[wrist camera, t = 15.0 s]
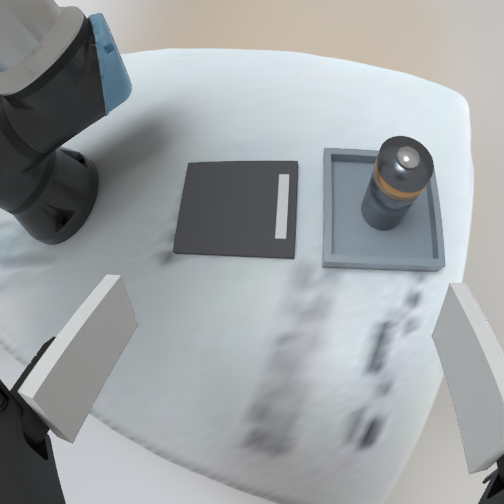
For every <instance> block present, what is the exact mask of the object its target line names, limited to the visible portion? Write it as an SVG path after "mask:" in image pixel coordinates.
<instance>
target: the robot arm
mask: <svg viewBox="0 0 504 504" xmlns="http://www.w3.org/2000/svg"><path fill="white" fill-rule="evenodd" d="M131 91H132V84H131V81H130V78H129V76H128V73H127V71H126V68H125V66H124V63H123V61H122V58H121V56H120V53H119V51H118V48H117V46H116V44H115V41H114V39H113V36H112V34H111V32H110V29H109V27H108V25H107V22H106V20H105V18H104V16H103V14H101V13H97V14H93V15H90V16H89V17H88V18H86V16H85V15H84V14H83V12H82V11H81V10H80V9H79V8H77V7H73V6H70V7H59V6H58V5H57V4H56V3H55V1H54V0H0V208H1V209H3V210H5V211H7V212H9V213H11V214H13V215H14V217H15V218H16V219H17V220H18V221H19V223H20V224H21V225H22V226H23V227H24V228H25V230H26V231H27V232H28V233H29V234H30V235H31V236H32V237H33V238H35V239H37V240H39V241H41V242H43V243H46V244H57V243H60V242H62V241H64V240H66V239H68V238H69V237H70V236H72V235H73V234H74V233H75V232H76V231H77V230H78V229H79V228H80V227H81V225H82V224H83V223H84V221H85V220H86V218H87V217H88V215H89V213H90V211H91V209H92V207H93V204H94V202H95V199H96V195H97V190H98V174H97V170H96V168H95V166H94V164H93V163H92V162H91V161H90V160H89V159H88V158H87V157H86V156H84V155H83V154H81V153H79V152H77V151H74V150H70V149H67V148H64V147H60V146H61V145H63V144H64V143H65V142H67V141H68V140H70V139H71V138H72V137H74V136H75V135H77V134H78V133H80V132H81V131H83V130H84V129H86V128H87V127H89V126H90V125H92V124H93V123H95V122H96V121H98V120H99V119H101V118H102V117H104V116H107V115H108V114H109V112H110V111H112V110H113V109H114V108H116V107H117V106H119V105H120V104H121V103H123V102H124V101H126V100H127V98H128V97H129V96H130V93H131ZM137 326H138V323H137V320H136V317H135V315H134V312H133V309H132V306H131V303H130V301H129V298H128V295H127V292H126V289H125V286H124V283H123V280H122V277H121V275H106V276H105V277H104V278H103V279H102V281H101V282H100V283H99V284H98V285H97V287H96V288H95V289H94V290H93V291H92V293H91V294H90V295H89V296H88V297H87V299H86V300H85V301H84V302H83V304H82V305H81V306H80V307H79V309H78V310H77V311H76V312H75V314H74V315H73V316H72V317H71V319H70V320H69V321H68V322H67V324H66V325H65V326H64V328H63V329H62V330H61V332H60V333H59V334H58V335H57V337H53V338H51V339H50V340H49V341H47V342H46V343H45V344H44V345H43V346H42V347H41V349H40V350H39V351H38V353H37V356H35V357H34V358H33V359H32V361H31V364H29V365H28V366H27V368H26V369H25V371H24V372H23V373H22V375H21V376H20V378H19V379H18V380H17V382H16V383H15V385H14V386H13V388H12V389H11V390H10V391H9V390H8V389H7V387H6V386H5V385H4V384H3V383H2V381H1V380H0V504H66V503H65V499H64V496H63V492H62V489H61V485H60V481H59V477H58V473H57V468H56V464H55V459H54V455H53V450H52V445H51V440H50V437H49V435H48V434H47V433H48V431H49V429H51V430H52V431H53V433H54V434H55V435H56V436H57V437H59V438H61V439H64V440H66V441H68V442H71V443H73V442H74V440H75V438H76V436H77V434H78V432H79V430H80V428H81V427H82V425H83V423H84V421H85V419H86V417H87V415H88V413H89V411H90V409H91V408H92V406H93V404H94V402H95V400H96V398H97V396H98V394H99V393H100V391H101V389H102V387H103V385H104V384H105V382H106V380H107V378H108V376H109V375H110V373H111V371H112V369H113V367H114V366H115V364H116V362H117V360H118V359H119V357H120V355H121V353H122V352H123V350H124V348H125V346H126V345H127V343H128V341H129V340H130V338H131V336H132V334H133V333H134V331H135V329H136V328H137ZM432 338H433V341H434V343H435V346H436V349H437V352H438V355H439V358H440V361H441V364H442V368H443V371H444V374H445V377H446V381H447V384H448V387H449V391H450V394H451V398H452V402H453V405H454V409H455V413H456V417H457V421H458V425H459V429H460V433H461V438H462V442H463V447H464V451H465V457H466V462H467V468H468V473H469V474H472V473H476V472H480V471H483V470H487V469H488V468H489V467H491V466H492V465H493V464H494V463H495V462H497V466H498V468H497V469H496V470H495V471H494V472H492V473H491V474H490V475H489V476H487V477H486V478H485V479H484V481H483V483H484V484H485V483H486V482H487V481H489V480H490V479H491V480H490V482H489V484H488V486H487V488H486V490H485V492H484V494H483V495H482V497H481V499H480V501H479V503H478V504H504V354H503V351H502V349H501V347H500V345H499V343H498V341H497V339H496V337H495V335H494V333H493V331H492V329H491V327H490V325H489V324H488V322H487V320H486V318H485V316H484V314H483V312H482V311H481V309H480V307H479V305H478V303H477V302H476V300H475V298H474V296H473V295H472V293H471V291H470V290H469V288H468V286H467V285H466V283H449V287H448V290H447V293H446V296H445V299H444V302H443V305H442V308H441V311H440V314H439V317H438V320H437V323H436V325H435V328H434V331H433V333H432Z"/></svg>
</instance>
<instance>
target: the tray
mask: <svg viewBox="0 0 504 504" xmlns="http://www.w3.org/2000/svg"><path fill="white" fill-rule="evenodd" d="M378 153H379V151H373V150H358V149H340V148H324V158H323V162H324V221H323V261H322V267H336V268H361V269H387V270H415V271H438V270H440V269H442V268H443V267H445V253H444V240H443V229H442V219H441V211H440V203H439V195H438V189H437V182H436V176H435V170H434V171H433V174H432V177H431V178H430V180H429V182H428V184H427V185H426V187H425V188H424V190H423V191H422V193H421V194H420V195H419V196H418V197H417V199H416V200H415V202H414V203H413V205H412V206H411V208H410V209H409V210H408V212H407V213H406V215H405V216H404V217H403V219H402V220H401V222H400V223H399V224H398V225H397V226H396V227H395V228H393V229H391V230H387V231H381V230H377V229H375V228H373V227H371V226H370V225H369V224H368V223H367V222H366V221H365V220H364V218H363V215H362V212H361V204H362V201H363V198H364V195H365V193H366V190H367V187H368V184H369V181H370V178H371V175H372V172H373V169H374V165H375V162H376V159H377V155H378ZM431 157H432V156H431ZM432 160H433V159H432Z"/></svg>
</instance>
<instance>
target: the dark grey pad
mask: <svg viewBox="0 0 504 504" xmlns="http://www.w3.org/2000/svg"><path fill="white" fill-rule="evenodd" d="M297 167H298V162H297V161H224V162H197V163H188V168H187V173H186V178H185V183H184V189H183V194H182V200H181V205H180V211H179V217H178V223H177V229H176V235H175V242H174V248H173V252H174V253H181V254H203V255H225V256H247V257H269V258H292V259H294V241H295V221H296V197H297Z"/></svg>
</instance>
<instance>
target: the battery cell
mask: <svg viewBox="0 0 504 504" xmlns="http://www.w3.org/2000/svg"><path fill="white" fill-rule="evenodd" d="M433 171H434V164H433V160H432V157H431V155H430V153H429V152H428V150H427V149H426V148H425V147H424V146H423V145H422V144H421V143H419V142H418V141H416V140H414V139H412V138H409V137H405V136H396V137H392V138H389V139H388V140H386V141H385V142H384V143H383V144H382V146H381V148H380V151H379V153H378V155H377V159H376V162H375V165H374V169H373V172H372V175H371V178H370V181H369V184H368V187H367V190H366V193H365V195H364V198H363V201H362V204H361V212H362V215H363V218H364V220H365V221H366V222H367V223H368V224H369V225H370V226H371V227H373V228H375V229H377V230H381V231H387V230H391V229H393V228H395V227H396V226H397V225H398V224H399V223H400V222H401V220H402V219H403V217H404V216H405V215H406V213H407V212H408V210H409V209H410V208H411V206H412V205H413V203H414V202H415V200H416V199H417V197H418V196H419V195H420V194H421V193H422V191H423V190H424V188H425V187H426V185H427V184H428V182H429V180H430V178H431V177H432V174H433Z"/></svg>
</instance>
